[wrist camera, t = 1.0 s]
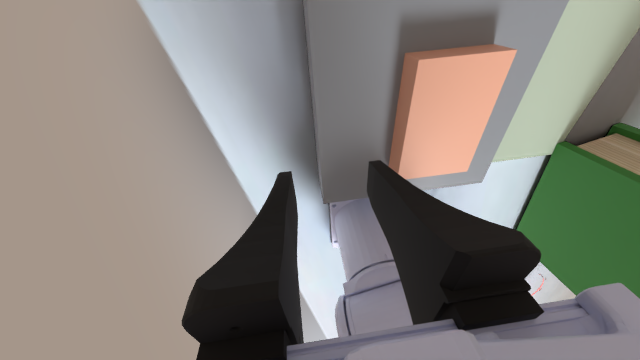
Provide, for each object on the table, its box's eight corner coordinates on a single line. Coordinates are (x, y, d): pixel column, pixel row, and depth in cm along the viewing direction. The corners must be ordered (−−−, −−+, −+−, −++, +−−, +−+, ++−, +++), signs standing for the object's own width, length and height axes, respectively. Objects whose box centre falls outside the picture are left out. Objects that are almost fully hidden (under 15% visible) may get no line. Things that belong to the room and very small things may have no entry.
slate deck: (458, 160, 26) (481, 182, 23) (318, 178, 26) (323, 203, 23) (528, -28, 16) (585, -33, 13) (301, -9, 16) (306, -9, 12)
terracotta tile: (453, 158, 21) (467, 171, 19) (388, 166, 21) (397, 180, 19) (493, 43, 15) (517, 49, 14) (404, 52, 15) (418, 59, 13)
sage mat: (551, 151, 27) (555, 153, 27) (461, 163, 27) (463, 165, 26) (683, -51, 17) (692, -52, 16) (538, -39, 16) (544, -39, 16)
